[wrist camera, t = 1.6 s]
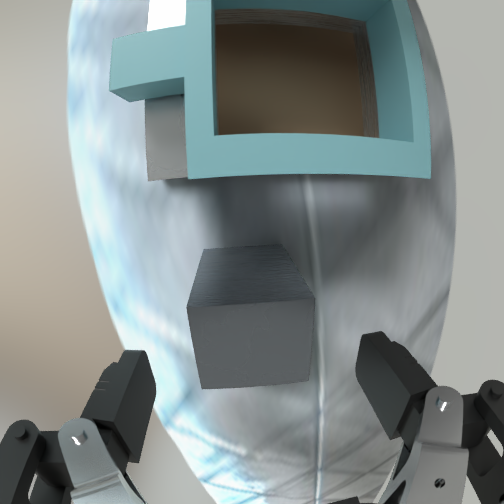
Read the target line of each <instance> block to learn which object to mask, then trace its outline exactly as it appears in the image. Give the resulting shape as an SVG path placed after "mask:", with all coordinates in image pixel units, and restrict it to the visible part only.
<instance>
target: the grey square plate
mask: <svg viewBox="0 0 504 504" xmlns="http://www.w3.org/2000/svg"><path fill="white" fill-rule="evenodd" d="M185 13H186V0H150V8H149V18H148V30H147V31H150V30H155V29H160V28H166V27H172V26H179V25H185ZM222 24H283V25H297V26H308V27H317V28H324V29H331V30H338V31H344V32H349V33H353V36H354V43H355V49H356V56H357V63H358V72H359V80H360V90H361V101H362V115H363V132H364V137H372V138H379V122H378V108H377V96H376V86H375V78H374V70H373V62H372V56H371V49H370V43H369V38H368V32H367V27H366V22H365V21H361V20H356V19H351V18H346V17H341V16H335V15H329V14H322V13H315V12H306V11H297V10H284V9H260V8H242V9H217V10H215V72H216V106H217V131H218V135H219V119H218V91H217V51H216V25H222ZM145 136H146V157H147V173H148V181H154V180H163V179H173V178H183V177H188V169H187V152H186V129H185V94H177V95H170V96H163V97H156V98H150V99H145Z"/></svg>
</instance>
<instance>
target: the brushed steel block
mask: <svg viewBox="0 0 504 504" xmlns="http://www.w3.org/2000/svg"><path fill="white" fill-rule="evenodd" d="M314 308H315V297H314V296H313V294H312V292H311V291H310V289H309V288H308V286H307V284H306V283H305V281H304V279H303V278H302V276H301V275H300V273H299V271H298V270H297V268H296V266H295V265H294V263H293V262H292V260H291V258H290V257H289V255H288V254H287V252H286V250H285V249H284V247H283V246H282V244H280V245H264V246H247V247H231V248H215V249H204V250H203V253H202V256H201V260H200V263H199V266H198V270H197V273H196V276H195V280H194V283H193V286H192V290H191V293H190V297H189V300H188V304H187V314H188V320H189V326H190V331H191V337H192V342H193V348H194V353H195V358H196V363H197V368H198V373H199V378H200V383H201V387H202V389H223V388H242V387H255V386H267V385H277V384H286V383H294V382H302V381H308V380H309V370H310V360H311V349H312V337H313V323H314Z"/></svg>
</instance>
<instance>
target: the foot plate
mask: <svg viewBox="0 0 504 504" xmlns="http://www.w3.org/2000/svg"><path fill="white" fill-rule="evenodd" d="M216 51H217V91H218V119H219V135H233V134H259V133H307V134H332V135H348V136H361V137H364V132H363V115H362V101H361V90H360V80H359V72H358V63H357V56H356V49H355V43H354V36H353V33H349V32H344V31H338V30H331V29H324V28H317V27H308V26H297V25H283V24H222V25H216Z"/></svg>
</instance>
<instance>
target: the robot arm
mask: <svg viewBox="0 0 504 504" xmlns="http://www.w3.org/2000/svg"><path fill="white" fill-rule="evenodd" d="M356 377H357V380H358V382H359V384H360V385H361V387H362V389H363V391H364V393H365V395H366V396H367V398H368V400H369V402H370V404H371V406H372V407H373V409H374V411H375V413H376V415H377V417H378V418H379V420H380V422H381V424H382V426H383V428H384V430H385V432H386V434H387V435H388V437H389V439H390V440H392V439H395V438H398V437H402V439H403V442H402V444H401V447H400V450H399V454H398V457H397V460H396V463H395V466H394V469H393V472H392V475H391V478H390V481H389V483H388V486H387V488H386V490H385V491H384V493H383V495H382V497H381V498H380V500H379V502H378V504H461V503H462V498H463V493H464V487H465V481H466V475H467V476H468V478H469V480H470V482H471V484H472V486H473V488H474V490H475V492H476V494H477V496H478V498H479V500H480V502H481V504H504V451H503V456H502V457H501V456H500V455H499V453H498V452H497V450H496V449H495V447H494V445H493V444H492V443H491V441H490V439H489V438H488V436H487V434H488V433H489V431H490V430H491V429H492V431H493V432H494V434H495V435H496V437H497V438H498V440H499V441H500V442H501V444H502V446H503V450H504V383H502V382H500V381H497V380H488V381H486V382H484V383H483V384H482V386H481V387H480V389H479V391H478V393H474V394H468V395H460V393H459V392H458V391H456V390H455V389H453V388H451V387H447V386H437V385H436V383H435V382H434V381H433V380H432V379H431V377H430V376H429V375H428V374H427V372H426V371H425V370H424V369H423V368H422V367H421V365H420V364H418V363H417V361H416V359H415V358H414V357H412V355H411V354H410V352H409V351H408V350H407V349H406V348H405V347H404V346H402V345H400V344H399V343H397V342H395V341H393V342H391V341H390V340H389V338H388V337H387V336H386V335H385V334H384V333H383V332H382V331H379V332H374V333H368V334H363V335H362V337H361V340H360V346H359V351H358V357H357V362H356ZM155 397H156V383H155V379H154V376H153V373H152V370H151V367H150V363H149V360H148V357H147V354H146V352H145V351H144V350H125V351H124V352H123V354H122V356H121V358H120V360H119V362H118V363H116V362H113V363H112V364H111V365H110V366H108V367H107V368H106V369H105V370H104V371H103V373H102V375H101V377H100V379H99V382H98V383H97V384H96V386H95V390H94V391H93V392H92V394H91V396H90V398H89V400H88V402H87V404H86V406H85V408H84V410H83V413H82V415H81V417H80V418H75V419H72V420H69V421H68V422H66V423H65V424H64V425H63V426H62V427H61V428H60V430H59V431H39V430H38V428H37V427H36V425H35V424H34V423H33V422H31V421H29V420H19V421H16V422H15V423H13V424H12V425H11V426H10V427H9V429H8V430H7V432H6V434H5V435H4V438H3V439H2V441H1V443H0V504H71V499H72V500H73V503H74V504H148V503H147V502H146V501H145V499H144V497H143V496H142V495H141V493H140V491H139V490H138V488H137V487H136V485H135V484H134V482H133V480H132V479H131V477H130V476H129V474H128V472H127V471H126V467H127V463H128V462H133V463H139V461H140V456H141V451H142V448H143V444H144V440H145V435H146V431H147V427H148V423H149V420H150V416H151V412H152V408H153V404H154V401H155ZM34 474H36V475H37V479H36V481H35V484H34V487H33V490H32V493H31V496H30V500H29V499H28V492H29V489H30V486H31V483H32V480H33V477H34ZM329 504H375V503H359V500H358V497H357V496H356V497H352V498H349V499H345V500H341V501H337V502H333V503H329Z"/></svg>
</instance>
